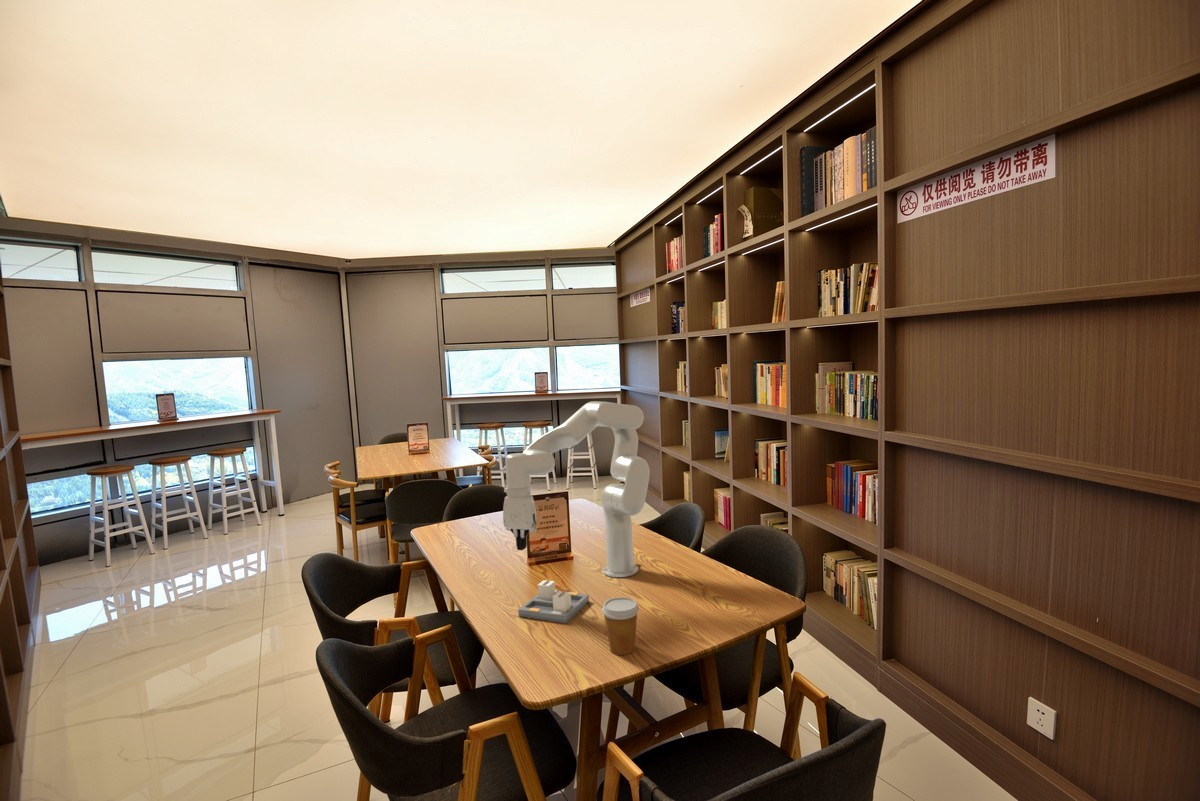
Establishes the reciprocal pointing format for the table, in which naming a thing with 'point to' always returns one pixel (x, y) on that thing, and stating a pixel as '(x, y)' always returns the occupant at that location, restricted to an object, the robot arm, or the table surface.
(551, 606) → the switch bank
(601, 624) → the table surface
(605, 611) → the disposable coffee cup
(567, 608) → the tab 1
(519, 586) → the table surface
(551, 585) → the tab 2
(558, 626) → the table surface
